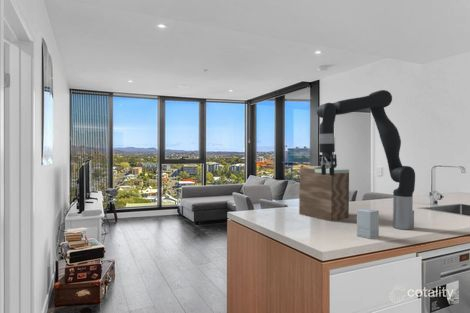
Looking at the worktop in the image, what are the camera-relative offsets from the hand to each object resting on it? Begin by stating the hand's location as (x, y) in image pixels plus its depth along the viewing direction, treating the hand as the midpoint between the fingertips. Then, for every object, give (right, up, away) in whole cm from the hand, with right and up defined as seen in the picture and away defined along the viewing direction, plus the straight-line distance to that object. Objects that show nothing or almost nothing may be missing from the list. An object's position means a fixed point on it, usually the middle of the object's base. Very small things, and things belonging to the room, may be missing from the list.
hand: (327, 175), depth 163 cm
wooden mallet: (+10, +2, +49) cm, 50 cm away
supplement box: (+17, -29, -9) cm, 35 cm away
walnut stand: (+9, -28, +41) cm, 51 cm away
